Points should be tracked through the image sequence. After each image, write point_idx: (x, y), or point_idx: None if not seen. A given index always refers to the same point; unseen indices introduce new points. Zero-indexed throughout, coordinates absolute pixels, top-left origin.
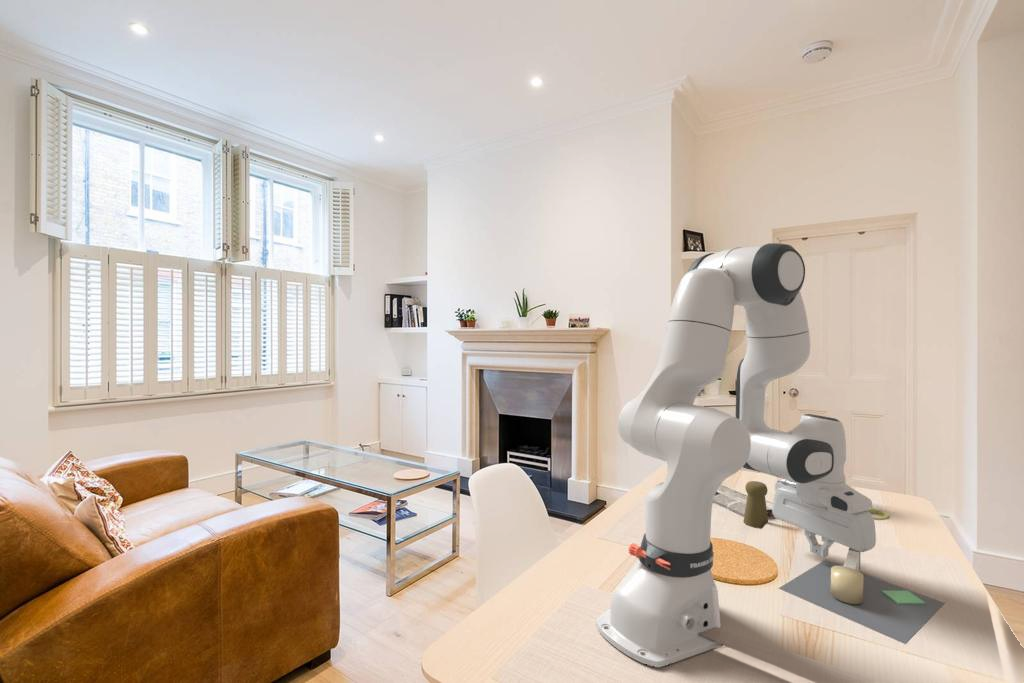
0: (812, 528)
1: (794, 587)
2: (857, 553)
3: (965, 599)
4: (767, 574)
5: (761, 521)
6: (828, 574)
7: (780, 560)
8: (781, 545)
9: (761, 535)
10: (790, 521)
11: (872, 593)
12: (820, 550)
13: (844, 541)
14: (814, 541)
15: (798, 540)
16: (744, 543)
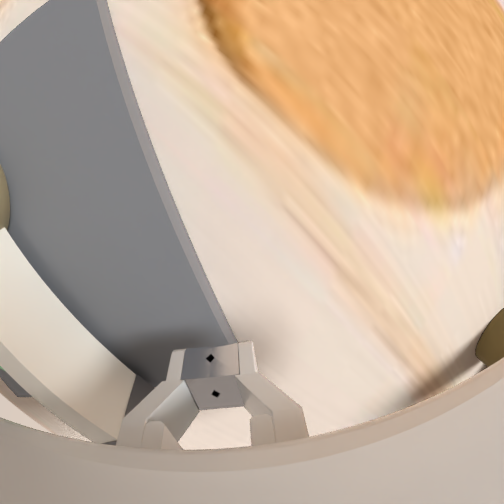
0: (206, 484)
1: (64, 35)
2: (86, 434)
3: (73, 437)
4: (261, 41)
5: (496, 342)
6: (119, 282)
7: (351, 218)
8: (417, 317)
9: (475, 302)
10: (436, 416)
11: None
12: (183, 369)
13: (3, 439)
14: (248, 403)
15: (400, 380)
16: (483, 199)
